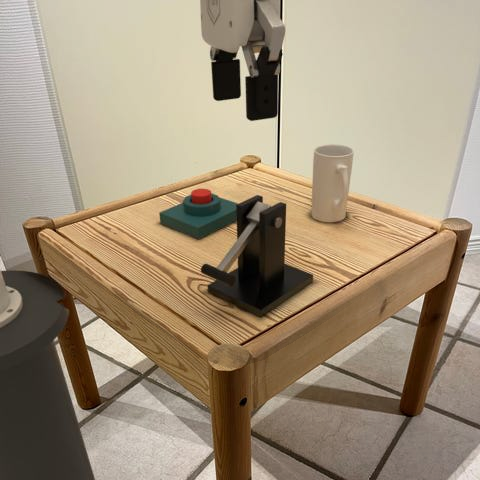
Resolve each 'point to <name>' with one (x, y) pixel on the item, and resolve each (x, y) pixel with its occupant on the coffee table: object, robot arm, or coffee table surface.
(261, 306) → the bracket
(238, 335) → the coffee table surface
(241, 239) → the lever
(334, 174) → the mug
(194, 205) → the button box
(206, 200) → the button
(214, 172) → the coffee table surface
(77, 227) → the coffee table surface
